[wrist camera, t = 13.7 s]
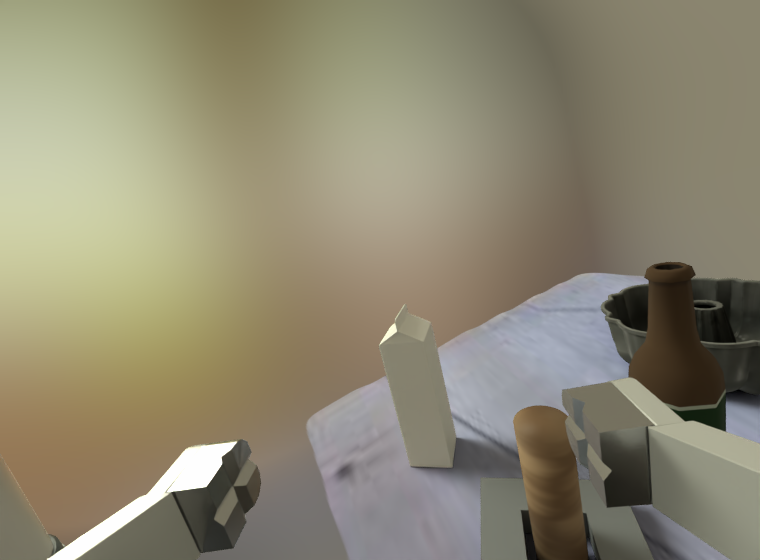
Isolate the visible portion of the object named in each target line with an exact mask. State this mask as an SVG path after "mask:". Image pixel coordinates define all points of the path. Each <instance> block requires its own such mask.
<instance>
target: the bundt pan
mask: <svg viewBox="0 0 760 560" xmlns="http://www.w3.org/2000/svg"><path fill="white" fill-rule="evenodd" d="M691 284H692V292H693V301H694V309H695V318H696V326H697V331H698V334H699V338H700V341H701V343H702V344H703V346H704V347H705V348H706V349H707V350H708V351H709V352H710V353H711V354H712V355H713V356H714V357H715V358H716V360H717V362H718V363H719V365H720V367H721V369H722V371H723V373H724V381H725V389H726V393H727V392H732V391H735V390H738V389H739V390H742V391H744V392H746V393H749V394H753V395H760V281H754V280H752V281H751V280H741V279H737V278H724V279H712V278H692V279H691ZM648 291H649V284H643V285H636V286H631V287H628V288H625V289H623V290H621V291H620V292H619V293H616V294H611V295H609V296H608V299H609V300H607V301H605V302H603V303H602V305H601V310H602V312H603V313H604V314H606V316H605V320H606V321H608V324H609V327H610V330H611V334H612V337H613V340H614V342H615V345H616V348H617V351H618V353H619V355H620V356H621V357H622V358H623V359H624V360H625V361H626V362H628V363H629V364H630V363H631V360H632V358H633V356H634V354H635V352H636V351H637V350H638V349H639V348H640V347H641V346H642V344H643V343H644V342H645V340H646V334H647V329H648Z"/></svg>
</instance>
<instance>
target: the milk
mask: <svg viewBox="0 0 760 560" xmlns="http://www.w3.org/2000/svg"><path fill="white" fill-rule="evenodd" d="M379 349H380V353H381V356H382V360H383V364H384V368H385V372H386V375H387V379H388V383H389V387H390V391H391V395H392V398H393V402H394V406H395V410H396V414H397V417H398V421H399V425H400V429H401V433H402V437H403V440H404V444H405V448H406V452H407V456H408V459H409V463H410V466H414V467H440V468H452V467H453V459H454V451H455V444H456V433H455V428H454V424H453V419H452V414H451V410H450V405H449V401H448V396H447V392H446V387H445V383H444V378H443V373H442V369H441V364H440V360H439V355H438V351H437V346H436V342H435V337H434V332H433V328H432V323H431V322H429V321H427V320H425V319H422V318H419V317H417V316H415V315H412V314H410V313H408V310H407V305H406V304H405V305H404V306H403V307H402V309H401V311H400V312H399V314H398V315H397V317H396V318H395V324H393V325H392V326H391V327H390V329H389V330H388V332H387V333H386V335H385V337H384V338H383V340H382V341H381V343H380V344H379Z"/></svg>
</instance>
